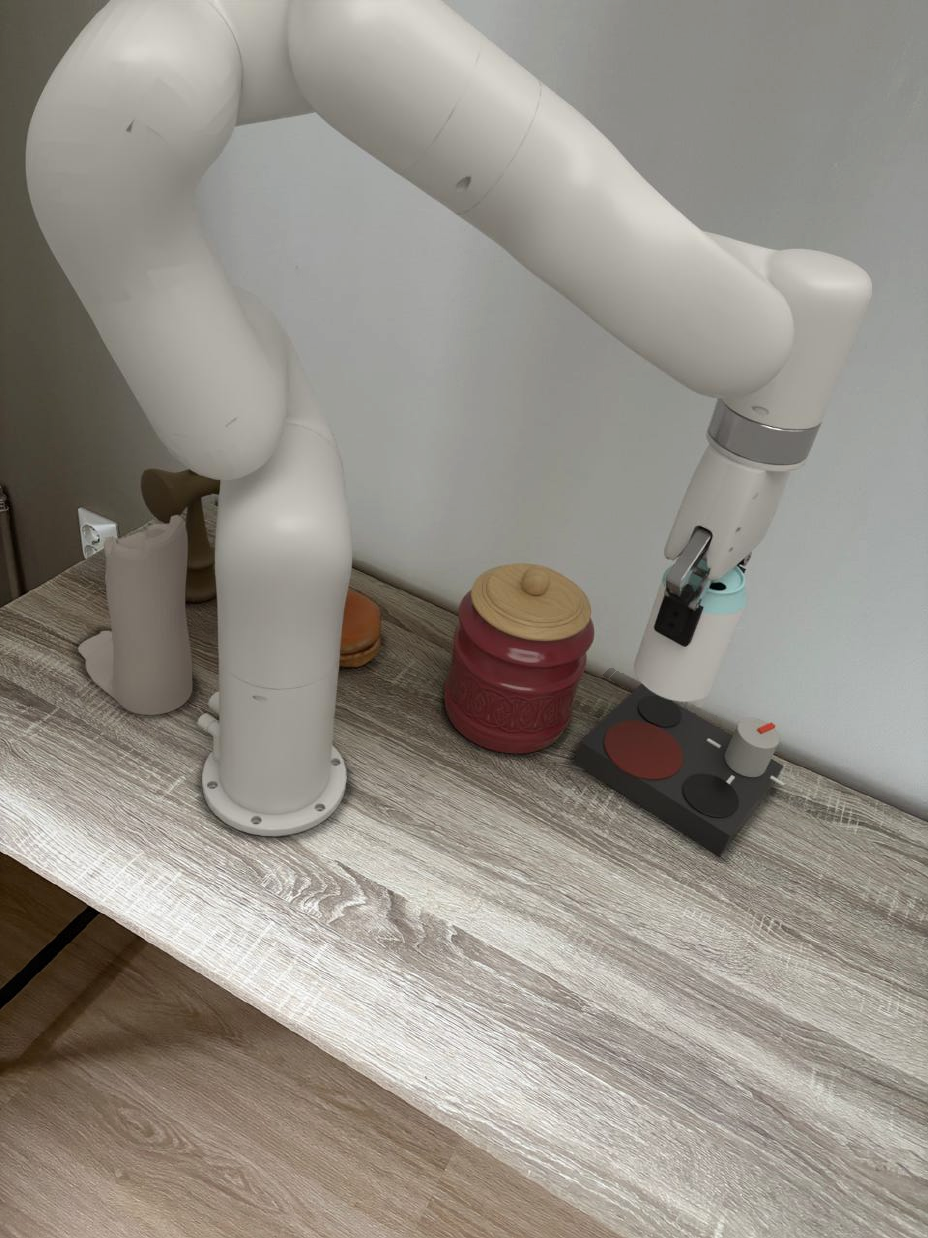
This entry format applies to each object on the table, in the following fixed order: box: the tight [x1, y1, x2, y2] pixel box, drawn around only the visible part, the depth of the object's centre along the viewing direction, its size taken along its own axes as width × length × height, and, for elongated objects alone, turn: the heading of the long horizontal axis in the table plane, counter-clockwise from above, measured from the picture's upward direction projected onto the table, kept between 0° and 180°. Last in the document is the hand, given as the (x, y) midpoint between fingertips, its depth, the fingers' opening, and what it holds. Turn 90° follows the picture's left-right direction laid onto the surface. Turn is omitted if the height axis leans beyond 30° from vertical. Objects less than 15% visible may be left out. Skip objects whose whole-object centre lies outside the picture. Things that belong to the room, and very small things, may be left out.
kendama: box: [140, 468, 220, 603], centre depth 101 cm, size 6×10×20 cm, turn 139°
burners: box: [604, 696, 739, 818], centre depth 93 cm, size 14×12×1 cm
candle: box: [77, 515, 193, 716], centre depth 90 cm, size 7×14×20 cm, turn 51°
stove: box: [573, 683, 786, 858], centre depth 95 cm, size 17×14×3 cm
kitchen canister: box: [443, 562, 596, 754], centre depth 94 cm, size 13×13×18 cm
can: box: [633, 557, 748, 703], centre depth 83 cm, size 7×7×12 cm
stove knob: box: [725, 717, 781, 777], centre depth 93 cm, size 4×4×4 cm
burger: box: [339, 588, 382, 668], centre depth 102 cm, size 10×9×5 cm
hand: (693, 616), depth 83 cm, fingers closed on can, 7 cm apart
